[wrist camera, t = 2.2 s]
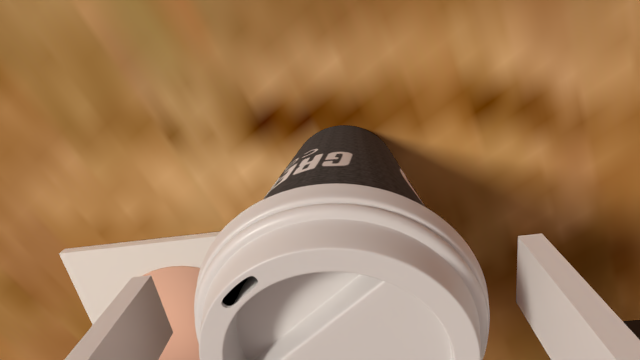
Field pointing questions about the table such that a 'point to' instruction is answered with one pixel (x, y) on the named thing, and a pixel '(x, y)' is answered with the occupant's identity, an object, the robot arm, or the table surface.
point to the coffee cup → (341, 267)
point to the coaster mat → (143, 260)
